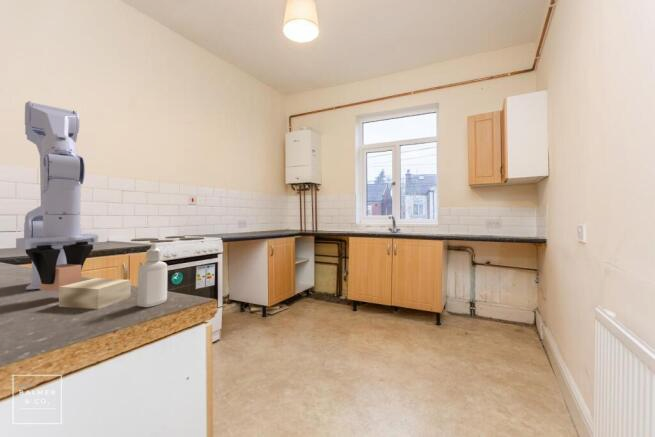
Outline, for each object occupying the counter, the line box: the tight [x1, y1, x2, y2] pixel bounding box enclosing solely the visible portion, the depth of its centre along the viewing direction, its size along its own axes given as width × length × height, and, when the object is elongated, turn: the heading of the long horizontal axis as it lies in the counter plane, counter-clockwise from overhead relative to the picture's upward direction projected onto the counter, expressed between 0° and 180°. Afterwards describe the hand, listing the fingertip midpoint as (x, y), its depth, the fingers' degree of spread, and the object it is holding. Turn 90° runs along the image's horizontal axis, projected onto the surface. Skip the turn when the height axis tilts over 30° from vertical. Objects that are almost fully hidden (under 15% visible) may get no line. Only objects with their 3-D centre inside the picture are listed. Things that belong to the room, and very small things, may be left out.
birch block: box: [58, 277, 132, 310], centre depth 60 cm, size 8×8×4 cm
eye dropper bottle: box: [136, 242, 168, 308], centre depth 60 cm, size 4×6×12 cm
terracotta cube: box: [39, 264, 82, 293], centre depth 62 cm, size 4×4×4 cm
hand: (61, 281), depth 62 cm, fingers closed on terracotta cube, 4 cm apart
